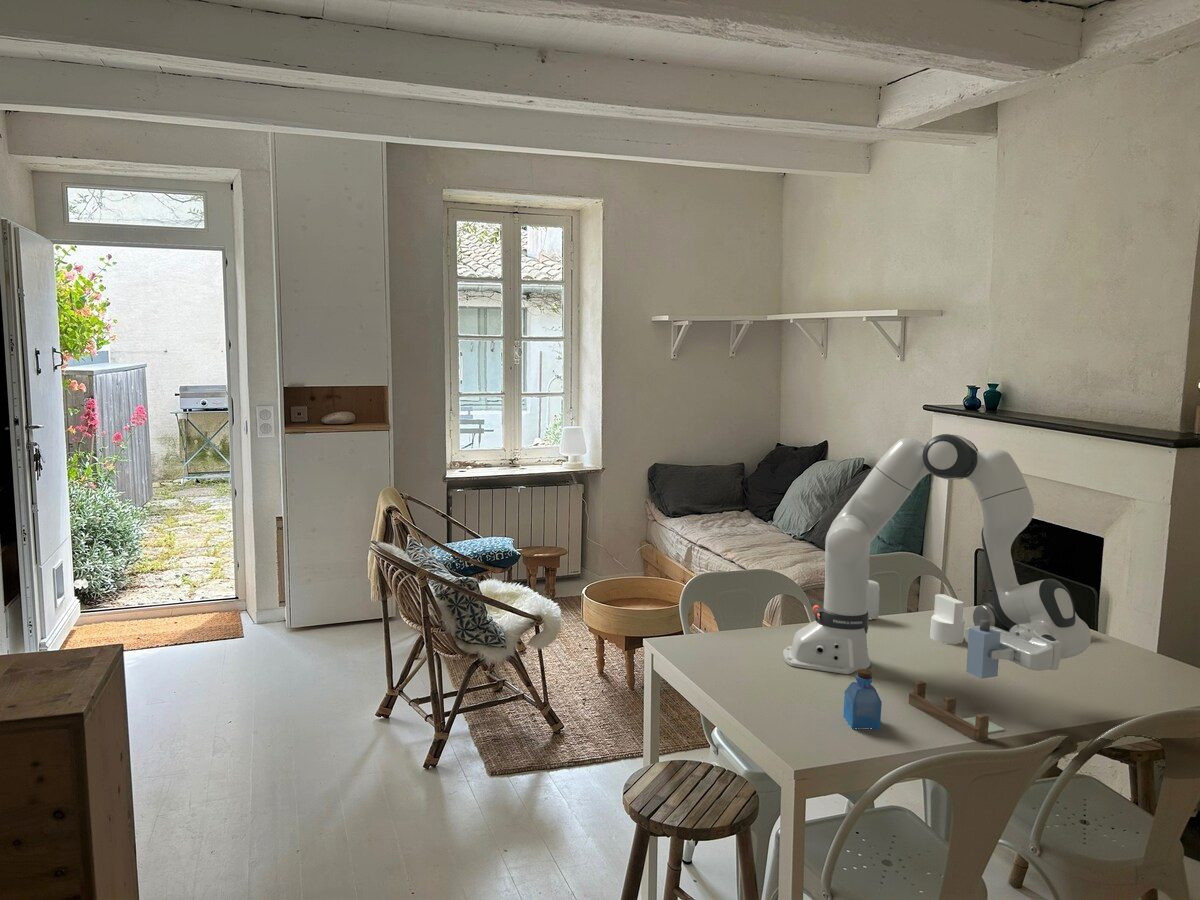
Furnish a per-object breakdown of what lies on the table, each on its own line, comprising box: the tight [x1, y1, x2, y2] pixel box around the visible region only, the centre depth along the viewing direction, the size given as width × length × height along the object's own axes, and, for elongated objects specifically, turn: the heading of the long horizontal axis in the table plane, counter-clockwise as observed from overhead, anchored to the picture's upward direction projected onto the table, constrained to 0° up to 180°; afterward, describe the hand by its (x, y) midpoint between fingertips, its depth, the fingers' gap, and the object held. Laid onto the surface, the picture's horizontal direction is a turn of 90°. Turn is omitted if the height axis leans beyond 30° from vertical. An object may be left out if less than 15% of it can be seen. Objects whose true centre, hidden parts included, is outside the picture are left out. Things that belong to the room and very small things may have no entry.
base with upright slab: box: [929, 593, 966, 645], centre depth 254 cm, size 9×9×12 cm
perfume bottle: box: [842, 668, 883, 730], centre depth 196 cm, size 6×6×12 cm
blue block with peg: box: [965, 620, 1000, 679], centre depth 195 cm, size 4×4×12 cm
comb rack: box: [908, 680, 1005, 741], centre depth 200 cm, size 10×21×5 cm, turn 21°
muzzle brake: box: [972, 601, 1010, 632], centre depth 260 cm, size 10×28×10 cm, turn 104°
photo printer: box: [867, 579, 881, 621], centre depth 271 cm, size 10×4×12 cm, turn 96°
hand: (980, 650), depth 195 cm, fingers closed on blue block with peg, 4 cm apart
